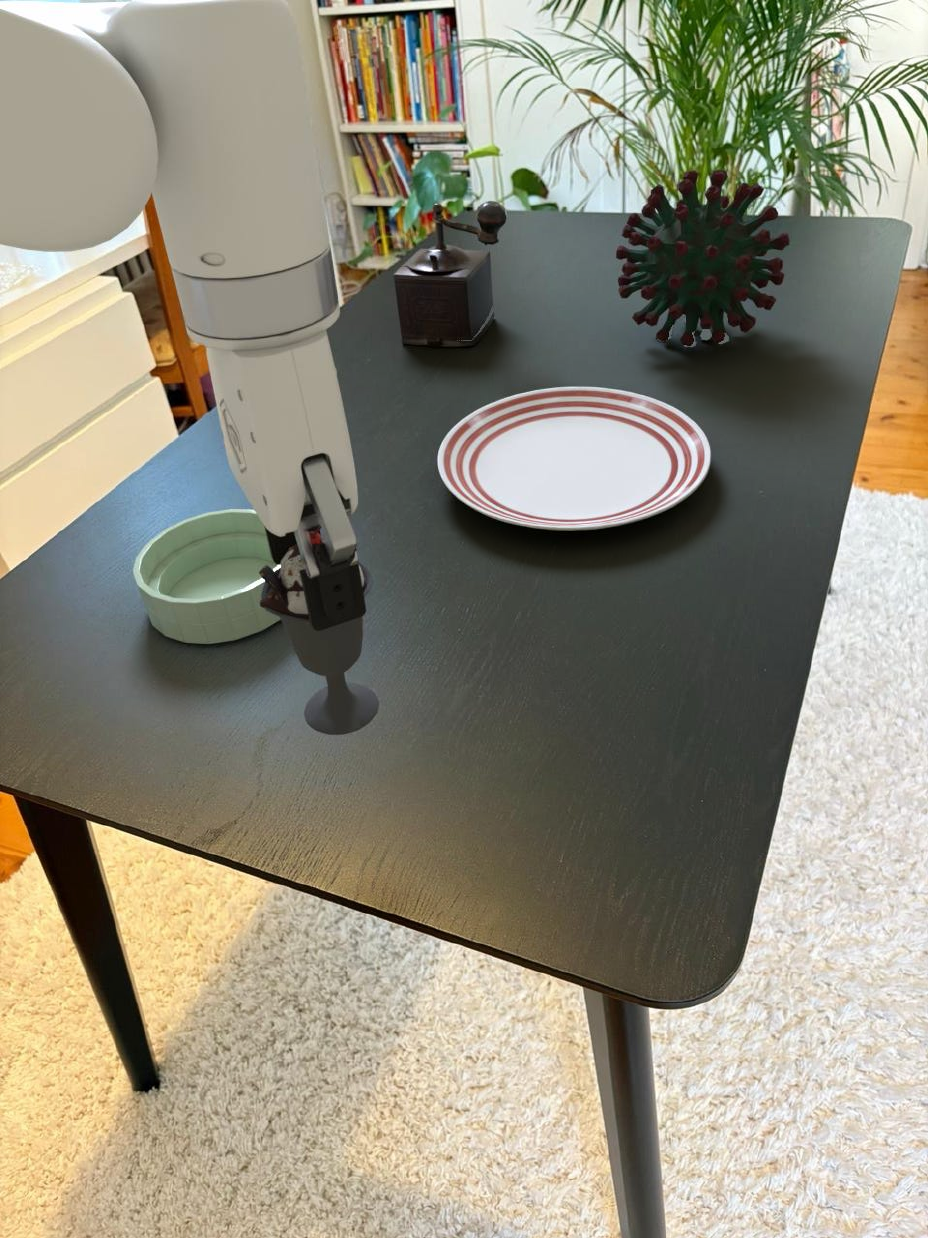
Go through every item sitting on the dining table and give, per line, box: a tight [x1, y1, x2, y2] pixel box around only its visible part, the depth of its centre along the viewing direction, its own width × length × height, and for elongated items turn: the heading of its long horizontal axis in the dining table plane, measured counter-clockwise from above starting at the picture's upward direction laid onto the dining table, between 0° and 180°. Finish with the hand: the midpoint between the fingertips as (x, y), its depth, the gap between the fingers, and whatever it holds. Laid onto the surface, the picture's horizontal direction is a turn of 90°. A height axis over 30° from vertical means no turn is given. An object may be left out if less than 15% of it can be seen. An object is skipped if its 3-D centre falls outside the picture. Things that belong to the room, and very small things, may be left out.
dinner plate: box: [437, 386, 712, 532], centre depth 99 cm, size 27×27×3 cm
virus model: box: [615, 169, 790, 346], centre depth 117 cm, size 20×20×20 cm
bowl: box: [132, 508, 281, 645], centre depth 87 cm, size 14×14×5 cm
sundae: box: [259, 526, 380, 736], centre depth 60 cm, size 7×7×15 cm
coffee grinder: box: [393, 200, 508, 348], centre depth 126 cm, size 16×11×18 cm
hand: (317, 585), depth 58 cm, fingers closed on sundae, 6 cm apart
